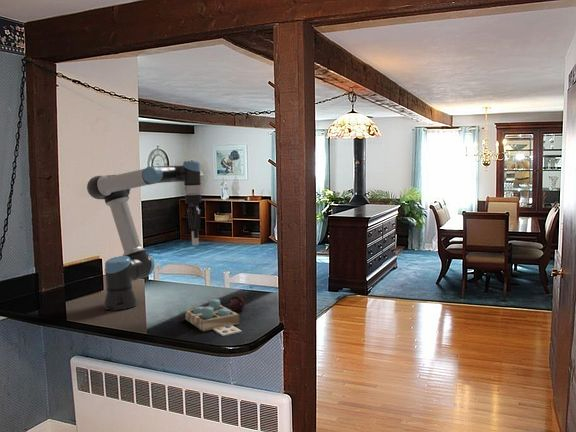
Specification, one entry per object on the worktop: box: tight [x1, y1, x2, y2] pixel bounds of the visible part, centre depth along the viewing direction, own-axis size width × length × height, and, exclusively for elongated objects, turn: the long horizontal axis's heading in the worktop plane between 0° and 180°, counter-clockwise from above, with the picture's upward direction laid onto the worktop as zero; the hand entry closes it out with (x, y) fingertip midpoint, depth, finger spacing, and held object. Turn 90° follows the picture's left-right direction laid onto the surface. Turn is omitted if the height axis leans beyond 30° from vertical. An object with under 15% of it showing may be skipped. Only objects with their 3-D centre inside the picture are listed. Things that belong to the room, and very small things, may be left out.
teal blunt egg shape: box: [208, 298, 221, 311], centre depth 223 cm, size 5×5×5 cm
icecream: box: [227, 294, 247, 312], centre depth 233 cm, size 7×7×15 cm
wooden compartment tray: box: [184, 304, 240, 332], centre depth 218 cm, size 20×16×4 cm
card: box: [212, 324, 242, 337], centre depth 205 cm, size 10×8×1 cm
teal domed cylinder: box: [202, 306, 214, 320], centre depth 211 cm, size 5×5×5 cm
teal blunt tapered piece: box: [218, 308, 231, 317], centre depth 215 cm, size 5×5×5 cm
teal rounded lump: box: [192, 306, 205, 314], centre depth 220 cm, size 5×5×5 cm
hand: (195, 244), depth 241 cm, fingers closed
